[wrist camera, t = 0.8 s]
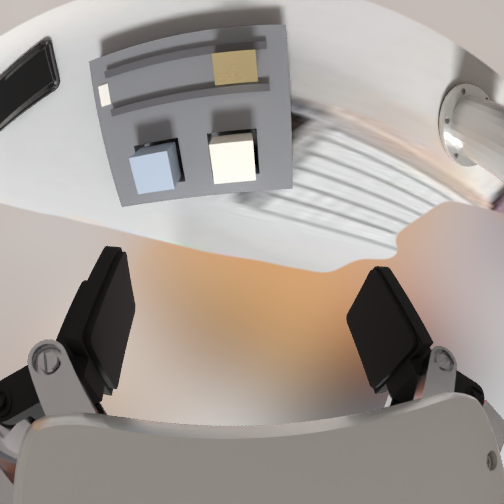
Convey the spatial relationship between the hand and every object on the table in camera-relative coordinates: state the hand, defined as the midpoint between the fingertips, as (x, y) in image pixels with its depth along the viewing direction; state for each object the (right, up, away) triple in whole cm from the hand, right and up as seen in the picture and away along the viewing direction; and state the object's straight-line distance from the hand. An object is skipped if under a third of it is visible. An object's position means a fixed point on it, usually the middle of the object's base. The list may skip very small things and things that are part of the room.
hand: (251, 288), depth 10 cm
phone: (-31, +24, +11) cm, 41 cm away
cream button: (-2, +12, +17) cm, 21 cm away
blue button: (-10, +11, +17) cm, 23 cm away
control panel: (-6, +16, +17) cm, 24 cm away
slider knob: (-1, +18, +11) cm, 22 cm away
